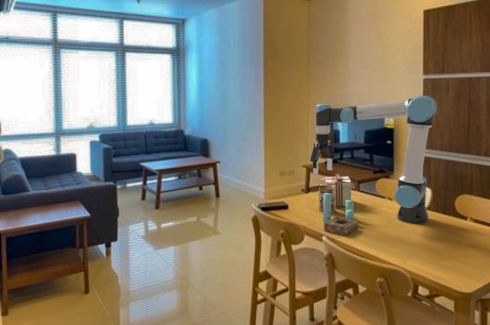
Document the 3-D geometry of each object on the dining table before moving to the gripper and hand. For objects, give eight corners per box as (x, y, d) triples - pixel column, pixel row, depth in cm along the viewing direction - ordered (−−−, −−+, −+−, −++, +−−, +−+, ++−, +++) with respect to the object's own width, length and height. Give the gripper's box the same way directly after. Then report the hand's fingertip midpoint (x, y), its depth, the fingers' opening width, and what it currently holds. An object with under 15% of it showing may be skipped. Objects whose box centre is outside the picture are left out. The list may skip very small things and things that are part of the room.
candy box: (318, 211, 238) (318, 185, 236) (321, 209, 242) (321, 183, 239) (333, 212, 234) (334, 186, 231) (336, 210, 238) (336, 184, 235)
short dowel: (355, 223, 215) (355, 210, 214) (351, 225, 212) (351, 212, 211) (348, 222, 218) (348, 209, 216) (344, 224, 215) (344, 210, 213)
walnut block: (357, 229, 206) (358, 221, 206) (346, 235, 198) (346, 227, 197) (336, 224, 214) (336, 216, 214) (324, 230, 206) (324, 222, 205)
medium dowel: (354, 218, 223) (354, 200, 221) (351, 220, 220) (351, 202, 218) (347, 217, 225) (348, 199, 224) (344, 219, 222) (344, 201, 221)
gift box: (318, 200, 262) (318, 173, 259) (347, 199, 261) (348, 172, 258) (322, 207, 245) (322, 179, 242) (353, 207, 244) (354, 178, 241)
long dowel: (332, 221, 219) (332, 193, 217) (328, 223, 216) (328, 195, 214) (325, 220, 222) (326, 192, 219) (321, 221, 219) (322, 194, 216)
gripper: (329, 130, 235) (329, 167, 239) (303, 135, 218) (303, 174, 221) (341, 131, 230) (340, 169, 234) (315, 135, 212) (315, 176, 216)
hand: (322, 172), depth 228 cm, fingers open, 13 cm apart
